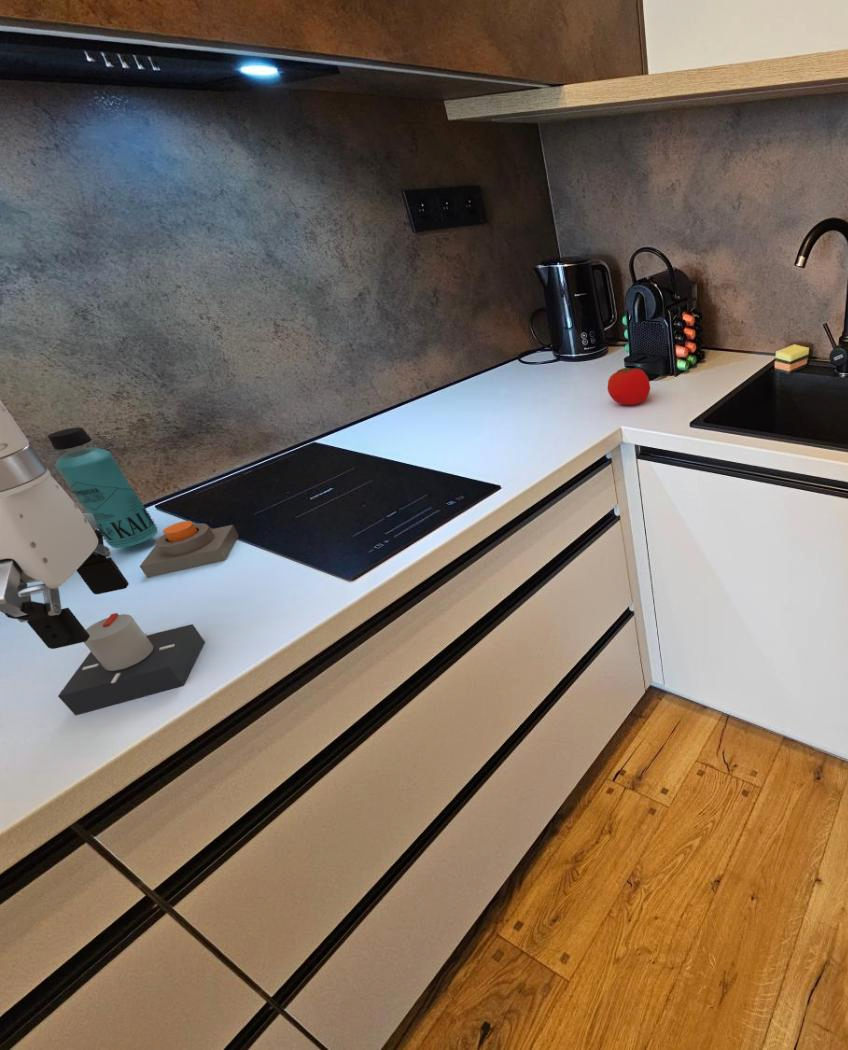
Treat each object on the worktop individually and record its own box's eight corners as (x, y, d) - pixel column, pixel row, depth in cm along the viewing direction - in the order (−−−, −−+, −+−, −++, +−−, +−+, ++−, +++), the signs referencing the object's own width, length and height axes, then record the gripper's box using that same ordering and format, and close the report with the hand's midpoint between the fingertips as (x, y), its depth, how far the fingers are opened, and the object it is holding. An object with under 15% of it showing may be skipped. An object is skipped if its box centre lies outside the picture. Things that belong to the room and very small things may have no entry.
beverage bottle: (121, 542, 96) (43, 429, 86) (170, 530, 99) (100, 419, 88) (108, 561, 91) (23, 443, 81) (160, 549, 94) (84, 432, 83)
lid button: (165, 545, 87) (159, 535, 86) (174, 534, 90) (167, 524, 89) (193, 539, 88) (187, 529, 87) (201, 528, 91) (195, 518, 90)
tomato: (659, 401, 139) (656, 366, 135) (624, 413, 134) (619, 377, 129) (637, 393, 145) (633, 359, 141) (602, 404, 140) (597, 369, 136)
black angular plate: (73, 717, 63) (55, 697, 62) (108, 665, 70) (92, 646, 69) (182, 687, 66) (167, 667, 65) (205, 640, 73) (193, 621, 72)
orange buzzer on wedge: (147, 578, 86) (132, 556, 84) (167, 551, 93) (153, 530, 91) (225, 560, 89) (212, 538, 87) (239, 535, 96) (227, 514, 94)
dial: (144, 664, 65) (119, 631, 63) (96, 675, 64) (69, 643, 62) (160, 639, 69) (137, 608, 67) (115, 650, 68) (90, 618, 65)
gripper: (-10, 447, 60) (87, 580, 69) (-140, 526, 47) (2, 680, 55) (80, 434, 63) (163, 565, 72) (-18, 506, 49) (99, 656, 58)
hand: (92, 615), depth 63 cm, fingers open, 9 cm apart
